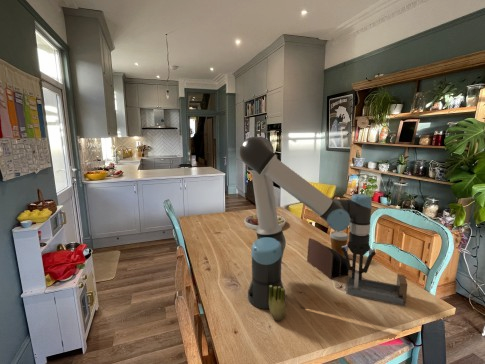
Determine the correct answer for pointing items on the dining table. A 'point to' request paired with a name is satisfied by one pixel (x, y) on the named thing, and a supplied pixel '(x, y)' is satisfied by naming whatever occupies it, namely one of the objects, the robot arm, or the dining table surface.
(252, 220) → the bowl
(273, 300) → the fennel bulb
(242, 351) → the dining table surface
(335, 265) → the letter holder
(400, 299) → the channel
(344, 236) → the disposable coffee cup
